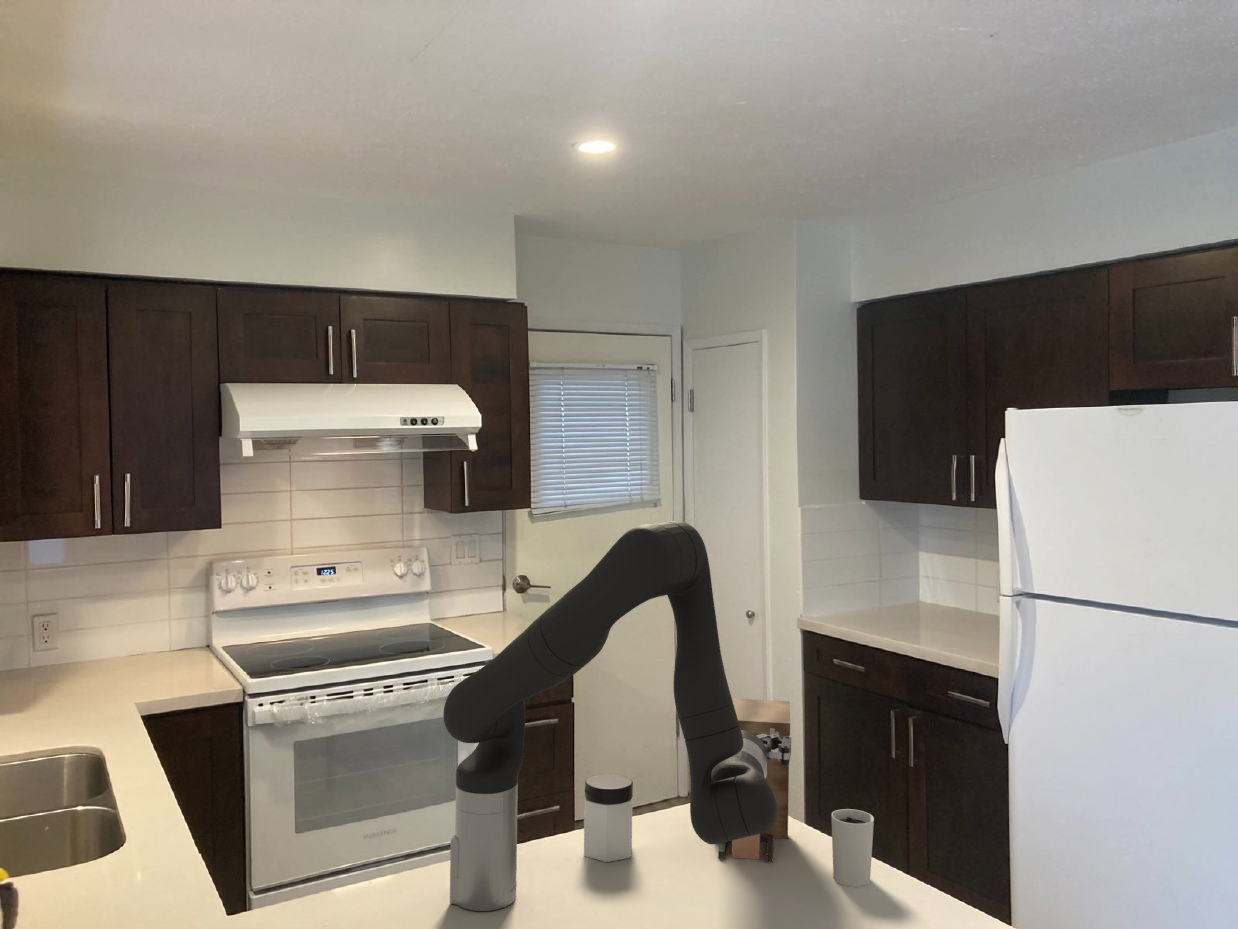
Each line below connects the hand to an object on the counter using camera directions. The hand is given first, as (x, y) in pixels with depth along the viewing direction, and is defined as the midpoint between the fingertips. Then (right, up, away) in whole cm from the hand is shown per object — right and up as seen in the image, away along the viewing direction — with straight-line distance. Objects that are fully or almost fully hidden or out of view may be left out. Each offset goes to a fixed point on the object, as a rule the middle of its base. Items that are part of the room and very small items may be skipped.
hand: (744, 732), depth 152 cm
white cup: (+18, -25, +5) cm, 31 cm away
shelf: (+2, -25, +16) cm, 29 cm away
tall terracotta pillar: (+2, -25, +16) cm, 29 cm away
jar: (-21, -24, +15) cm, 35 cm away
